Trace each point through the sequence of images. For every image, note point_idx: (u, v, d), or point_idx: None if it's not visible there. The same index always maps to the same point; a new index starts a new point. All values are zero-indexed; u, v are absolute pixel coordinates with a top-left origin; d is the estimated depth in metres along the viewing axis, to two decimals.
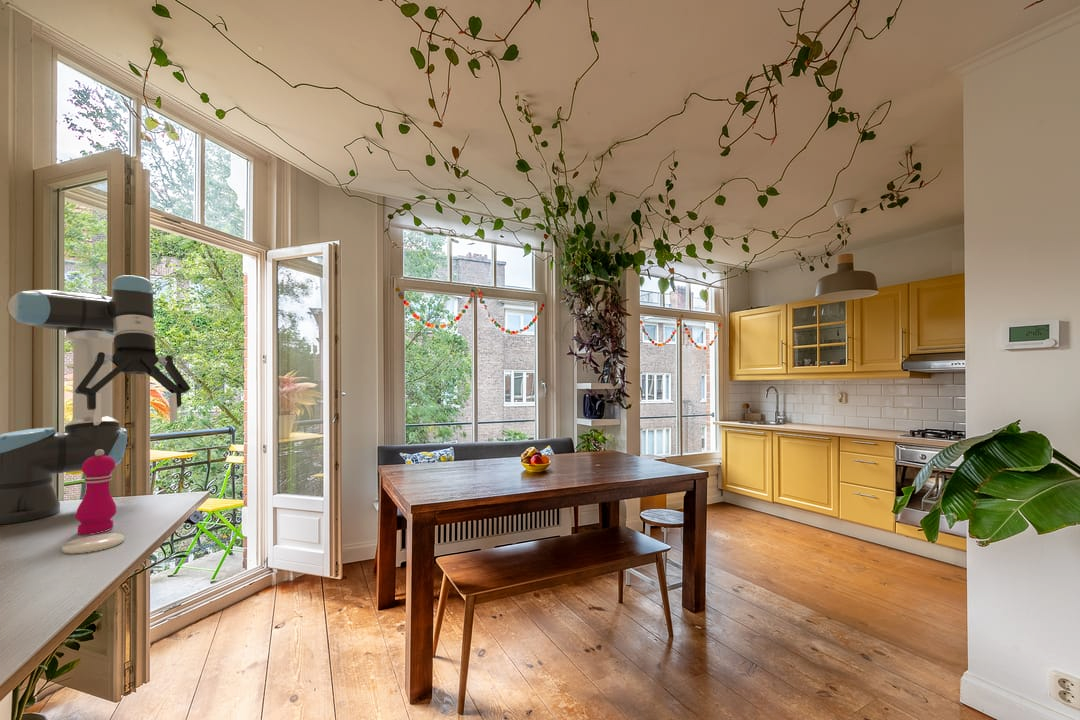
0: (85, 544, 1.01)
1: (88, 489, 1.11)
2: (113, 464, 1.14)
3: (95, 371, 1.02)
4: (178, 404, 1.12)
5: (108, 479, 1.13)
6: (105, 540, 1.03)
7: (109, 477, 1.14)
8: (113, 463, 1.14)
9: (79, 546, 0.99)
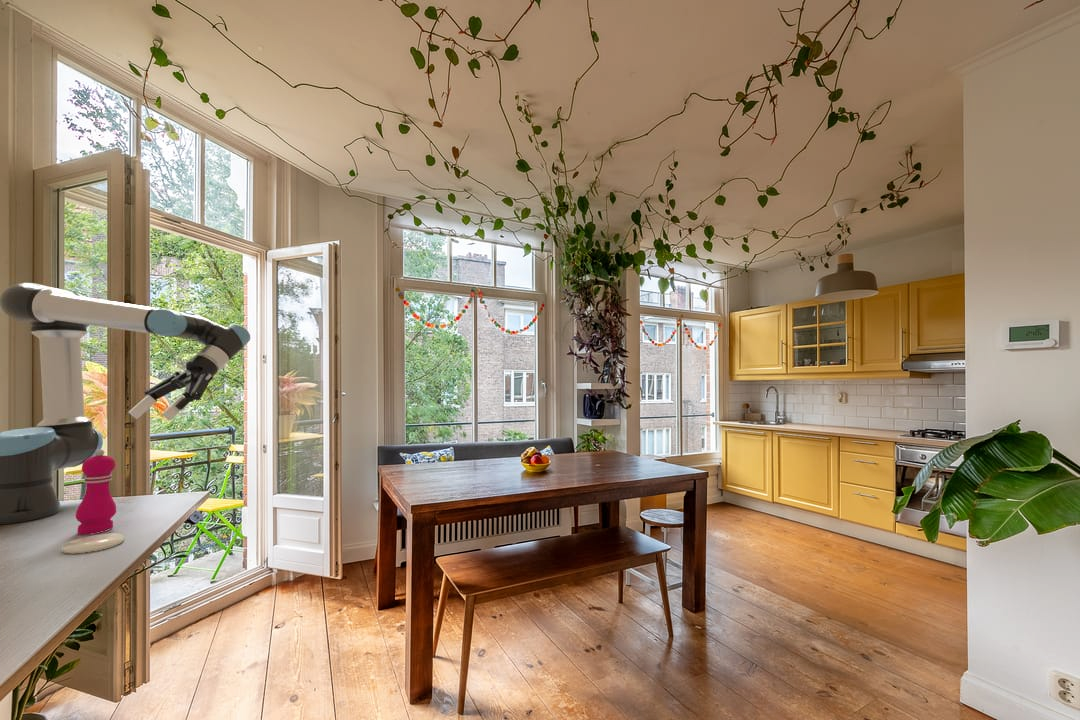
0: (85, 544, 1.01)
1: (88, 489, 1.11)
2: (113, 464, 1.14)
3: None
4: None
5: (108, 479, 1.13)
6: (105, 540, 1.03)
7: (109, 477, 1.14)
8: (113, 463, 1.14)
9: (79, 546, 0.99)
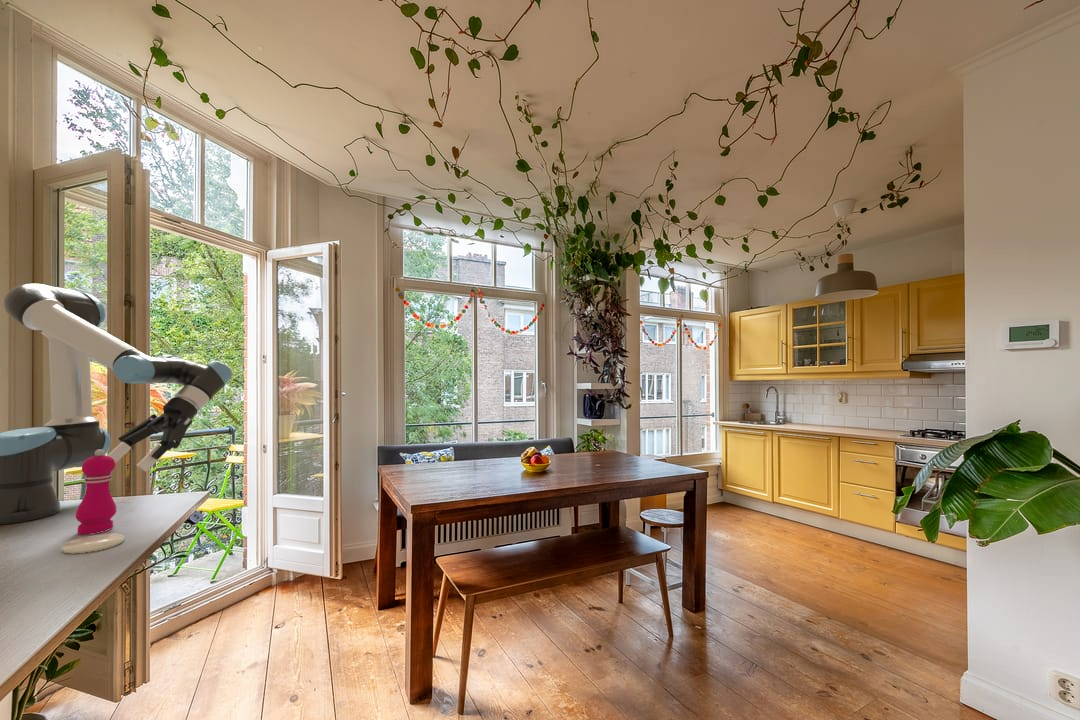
0: (85, 544, 1.01)
1: (88, 489, 1.11)
2: (113, 464, 1.14)
3: None
4: None
5: (108, 479, 1.13)
6: (105, 540, 1.03)
7: (109, 477, 1.14)
8: (113, 463, 1.14)
9: (79, 546, 0.99)
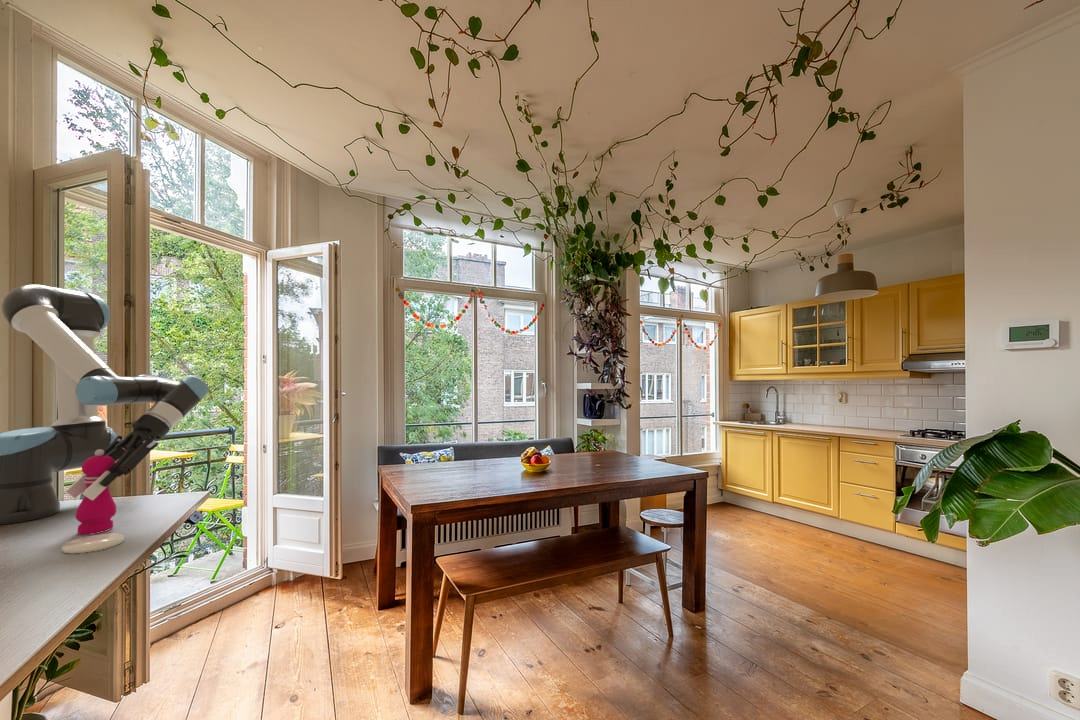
0: (85, 544, 1.01)
1: None
2: (113, 464, 1.14)
3: None
4: None
5: None
6: (105, 540, 1.03)
7: None
8: (113, 463, 1.14)
9: (79, 546, 0.99)
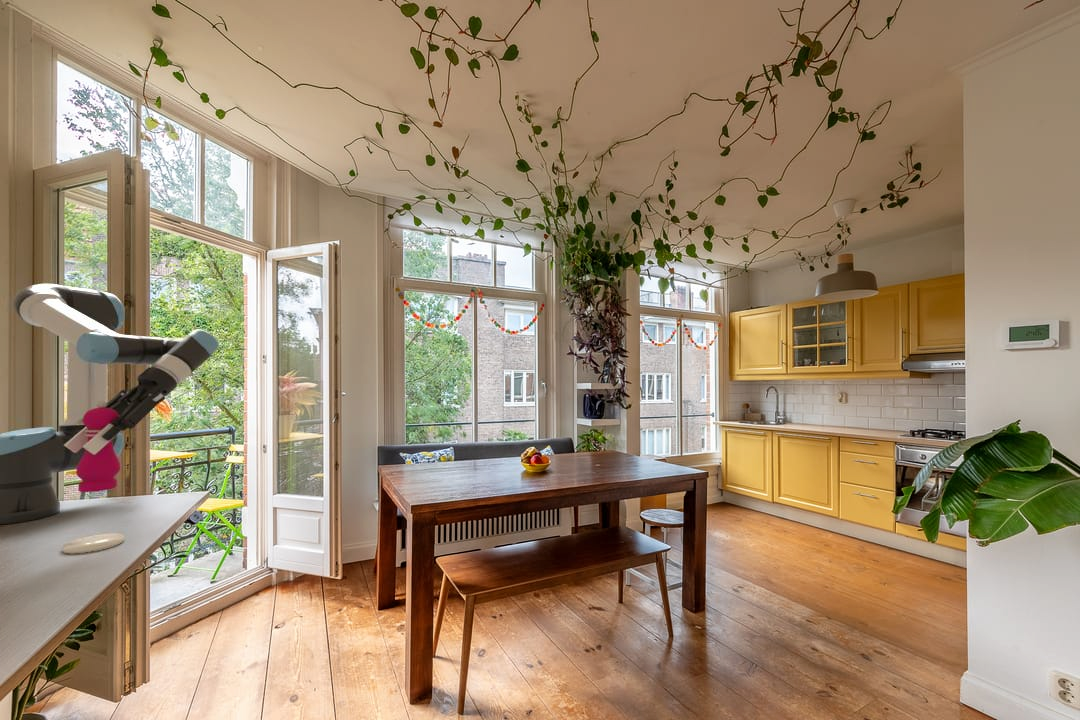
0: (85, 544, 1.01)
1: None
2: (117, 417, 1.05)
3: None
4: None
5: None
6: (105, 540, 1.03)
7: None
8: (117, 416, 1.05)
9: (79, 546, 0.99)
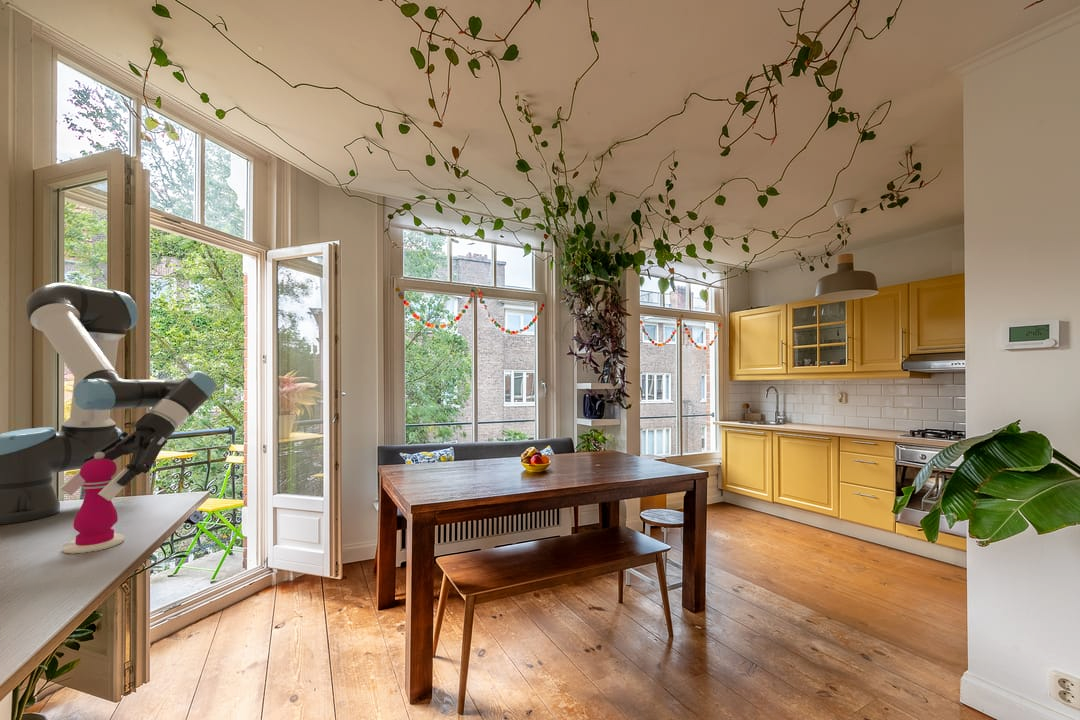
0: None
1: (87, 496, 1.01)
2: (114, 468, 1.04)
3: None
4: None
5: None
6: None
7: None
8: (114, 467, 1.04)
9: (79, 546, 0.99)
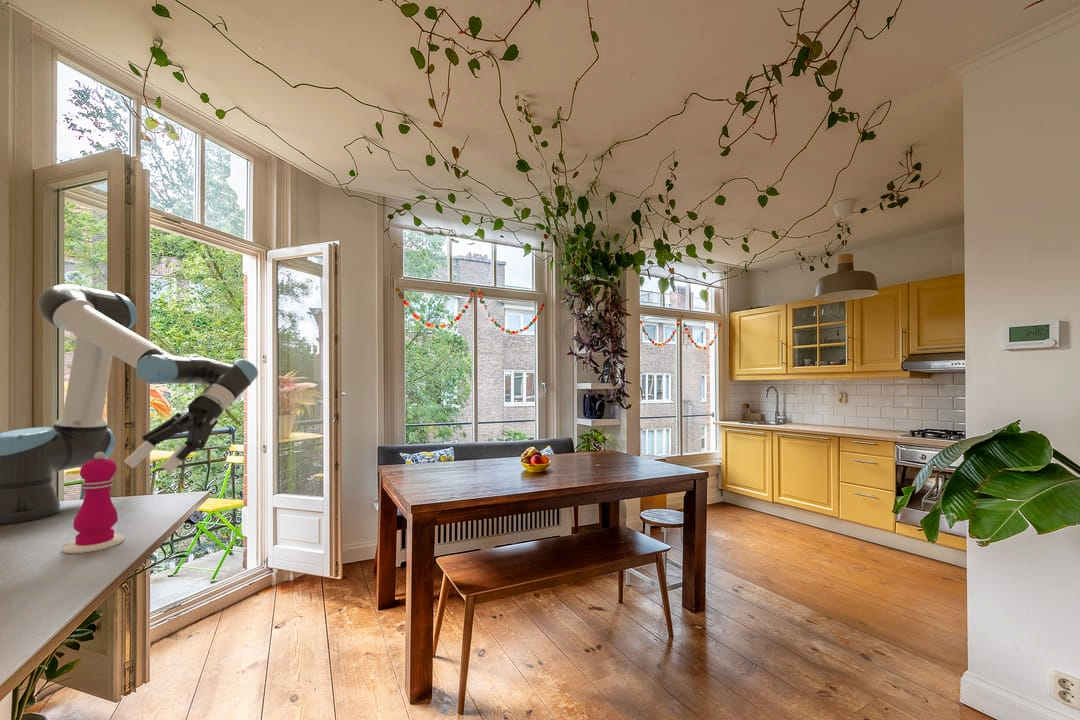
0: None
1: (87, 496, 1.01)
2: (114, 468, 1.04)
3: None
4: None
5: (109, 484, 1.04)
6: None
7: (110, 482, 1.04)
8: (114, 467, 1.04)
9: (79, 546, 0.99)
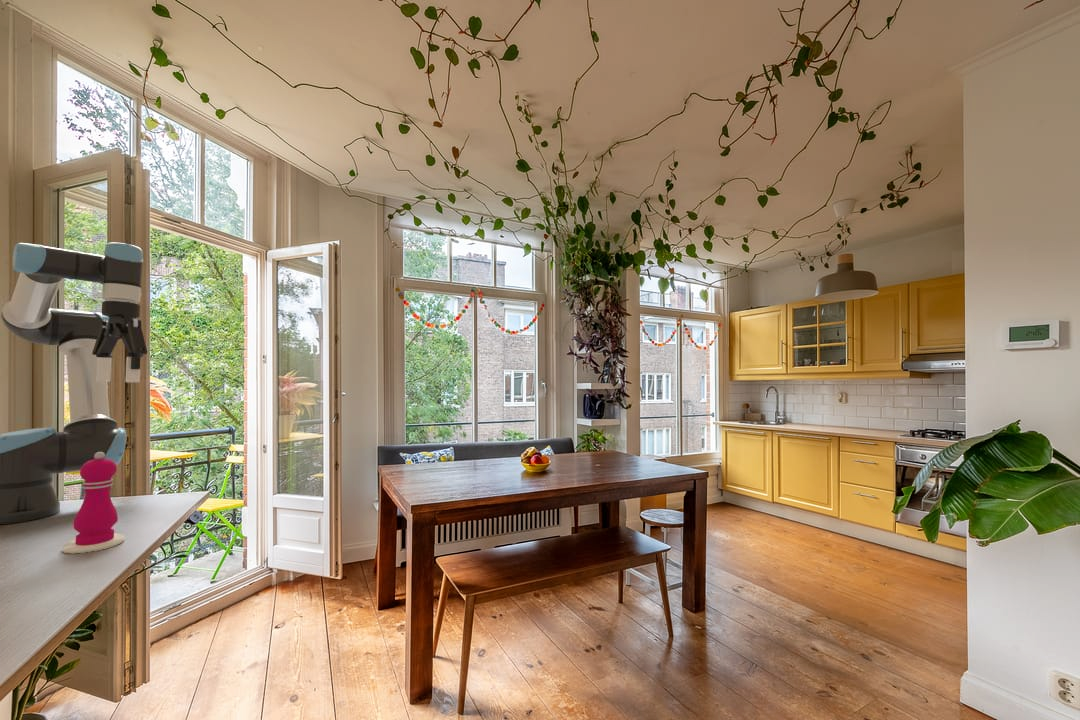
0: None
1: (87, 496, 1.01)
2: (114, 468, 1.04)
3: None
4: None
5: (109, 484, 1.04)
6: None
7: (110, 482, 1.04)
8: (114, 467, 1.04)
9: (79, 546, 0.99)
